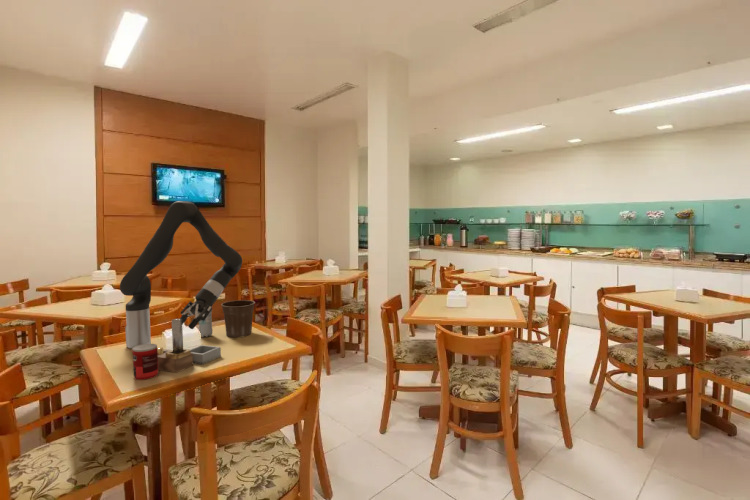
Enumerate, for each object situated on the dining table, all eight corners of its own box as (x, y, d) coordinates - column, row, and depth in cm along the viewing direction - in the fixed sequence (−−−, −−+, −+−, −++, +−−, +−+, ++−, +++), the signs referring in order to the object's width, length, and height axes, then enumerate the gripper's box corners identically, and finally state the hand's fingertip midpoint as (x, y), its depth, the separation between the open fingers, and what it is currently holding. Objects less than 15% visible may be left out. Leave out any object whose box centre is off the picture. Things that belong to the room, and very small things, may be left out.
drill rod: (170, 356, 148) (169, 320, 147) (178, 353, 152) (177, 318, 151) (178, 357, 147) (176, 321, 146) (185, 354, 150) (184, 319, 149)
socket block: (145, 367, 150) (144, 351, 150) (162, 360, 158) (161, 345, 157) (177, 372, 145) (176, 355, 144) (193, 365, 152) (193, 349, 152)
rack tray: (183, 361, 157) (183, 352, 156) (202, 353, 166) (201, 344, 166) (202, 364, 153) (202, 354, 153) (220, 356, 163) (220, 347, 162)
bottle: (207, 338, 189) (206, 298, 188) (195, 337, 190) (193, 297, 189) (215, 334, 196) (214, 295, 194) (204, 334, 197) (202, 295, 196)
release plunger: (153, 363, 152) (152, 349, 152) (159, 360, 155) (159, 347, 155) (159, 363, 151) (158, 350, 151) (165, 361, 154) (164, 347, 154)
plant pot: (262, 333, 197) (261, 302, 196) (232, 341, 184) (231, 307, 183) (245, 328, 207) (244, 298, 206) (216, 335, 195) (215, 303, 194)
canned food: (140, 372, 145) (138, 343, 145) (162, 371, 146) (161, 343, 145) (129, 380, 138) (127, 350, 137) (152, 379, 138) (151, 349, 138)
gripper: (194, 286, 161) (167, 318, 153) (213, 289, 153) (187, 323, 145) (206, 296, 166) (181, 329, 157) (226, 300, 158) (201, 334, 149)
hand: (184, 326), depth 151 cm, fingers open, 8 cm apart
